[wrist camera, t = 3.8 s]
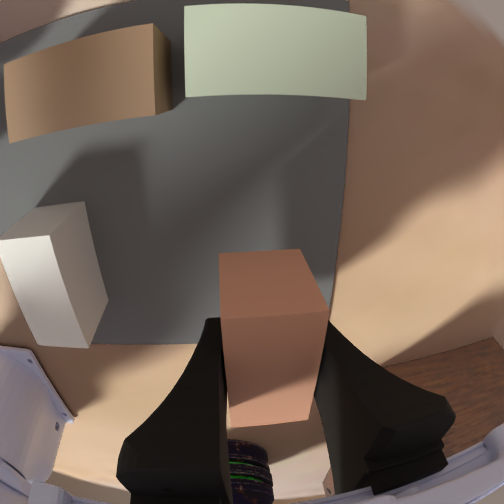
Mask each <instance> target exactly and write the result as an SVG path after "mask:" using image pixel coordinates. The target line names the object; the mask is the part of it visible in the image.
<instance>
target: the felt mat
mask: <svg viewBox="0 0 504 504" xmlns="http://www.w3.org/2000/svg"><path fill="white" fill-rule="evenodd" d="M240 3H245V4H277V5H292V6H303V7H313V8H321V9H328V10H335V11H341V12H347V13H349V1H345V0H136V1H131V2H126V3H121V4H116V5H112V6H107V7H103V8H99V9H95V10H91V11H87V12H84V13H80V14H77V15H73V16H70V17H67V18H64V19H61V20H58V21H55V22H52V23H49V24H46V25H43V26H41V27H38V28H35V29H33V30H30V31H28V32H25V33H23V34H20V35H18V36H16V37H13V38H11V39H9V40H7V41H4V42H2V43H0V236H1V235H2V234H4V233H5V232H6V231H7V230H8V229H9V228H11V227H12V226H13V225H14V224H15V223H17V222H18V221H19V220H20V219H21V218H23V217H24V216H25V215H26V214H28V213H29V212H30V211H31V210H33V209H34V208H36V207H43V206H50V205H57V204H65V203H73V202H81V201H85V206H86V211H87V216H88V221H89V226H90V231H91V235H92V239H93V244H94V248H95V252H96V256H97V260H98V264H99V268H100V272H101V275H102V279H103V283H104V286H105V290H106V293H107V297H108V300H109V301H108V303H107V305H106V308H105V310H104V312H103V315H102V317H101V320H100V322H99V324H98V327H97V329H96V332H95V334H94V337H93V339H92V342H91V344H195V343H198V342H199V339H200V337H201V334H202V331H203V328H204V324H205V320H206V319H207V318H214V317H220V285H219V253H231V252H249V251H268V250H287V249H300V250H301V252H302V254H303V256H304V258H305V260H306V262H307V264H308V266H309V268H310V270H311V272H312V274H313V276H314V278H315V281H316V283H317V285H318V287H319V289H320V291H321V293H322V295H323V297H324V299H325V301H326V303H327V306H328V308H329V307H330V301H331V295H332V288H333V281H334V274H335V267H336V259H337V252H338V244H339V235H340V226H341V217H342V207H343V197H344V186H345V174H346V160H347V144H348V126H349V99H346V98H333V97H319V96H301V95H219V96H201V97H186V94H185V55H184V6H192V5H207V4H240ZM151 23H153V24H154V25H155V26H156V27H157V28H158V29H159V30H160V31H161V32H162V33H163V34H164V35H165V36H166V37H167V38H168V39H169V40H170V41H171V65H172V97H173V110H170V111H167V112H164V113H161V114H158V115H153V116H145V117H137V118H130V119H123V120H116V121H109V122H103V123H98V124H92V125H86V126H81V127H76V128H71V129H66V130H62V131H57V132H53V133H48V134H44V135H40V136H36V137H32V138H28V139H24V140H21V141H17V142H14V143H10V144H9V138H8V129H7V119H6V107H5V91H4V64H6V63H8V62H11V61H13V60H16V59H18V58H21V57H23V56H26V55H29V54H31V53H34V52H37V51H40V50H43V49H46V48H49V47H52V46H55V45H58V44H61V43H65V42H68V41H71V40H75V39H79V38H82V37H86V36H90V35H94V34H98V33H103V32H107V31H112V30H116V29H121V28H127V27H132V26H138V25H144V24H151Z"/></svg>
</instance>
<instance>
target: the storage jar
mask: <svg viewBox="0 0 504 504" xmlns="http://www.w3.org/2000/svg"><path fill="white" fill-rule="evenodd" d="M227 443H228V455H229V466H230V477H231V487H232V497H233V504H272V503H273V501H274V495H273V488H272V487H273V481H272V475H271V473H270V469H269V466H268V464H267V463H268V455H267V452H266V451H265V450H264V449H263V448H262V447H260V446H258V445H256V444H253V443H250V442H245V441H240V440H229V439H227Z"/></svg>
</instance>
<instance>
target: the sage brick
mask: <svg viewBox="0 0 504 504" xmlns="http://www.w3.org/2000/svg"><path fill="white" fill-rule="evenodd" d="M184 55H185V94H186V97H201V96H219V95H301V96H319V97H333V98H346V99H356V100H366V93H367V26H366V16H364V15H358V14H353V13H347V12H341V11H335V10H328V9H321V8H313V7H303V6H292V5H277V4H245V3H240V4H207V5H192V6H184Z"/></svg>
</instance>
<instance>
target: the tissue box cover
mask: <svg viewBox="0 0 504 504" xmlns="http://www.w3.org/2000/svg"><path fill="white" fill-rule="evenodd" d="M383 368H384V369H386V370H387V371H389V372H391V373H392V374H394V375H396V376H398V377H399V378H401V379H403V380H405V381H407V382H409V383H411V384H413V385H415V386H418V387H420V388H422V389H425V390H427V391H430V392H433V393H436V394H439V395H442V396H444V397H445V398H446V399H447V401H448V402H449V404H450V405H451V407H452V409H453V411H454V413H455V415H456V418H455V421H454V423H453V425H452V426H451V428H450V429H449V430H448V432H447V433H446V434H445V435H444V437H443V438H442V441H443V443H444V448H443V449H442V451H443V453H444V455H445V457H446V458H448V457H450V456H453V455H455V454H457V453H459V452H461V451H463V450H465V449H467V448H469V447H471V446H473V445H475V444H477V443H479V442H481V441H483V440H484V438H485V437H486V436H487V434H488V433H490V432H491V431H492V430H493V429H495V428H496V427H498V426H500V425H501V424H503V423H504V350H503V348H502V347H501V346H500V345H499V343H498V342H497V341H496V340H495V339H494V337H492V338H489V339H486V340H483V341H480V342H477V343H474V344H471V345H467V346H464V347H461V348H458V349H454V350H451V351H447V352H444V353H440V354H436V355H433V356H429V357H425V358H421V359H417V360H413V361H409V362H404V363H400V364H396V365H391V366H386V367H383ZM323 486H324V491H325V495H326V497H329V496H334V495H335V492H334V485H333V477H332V471H331V467H330V469H329V471H328V473H327V475H326V477H325V479H324V481H323Z"/></svg>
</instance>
